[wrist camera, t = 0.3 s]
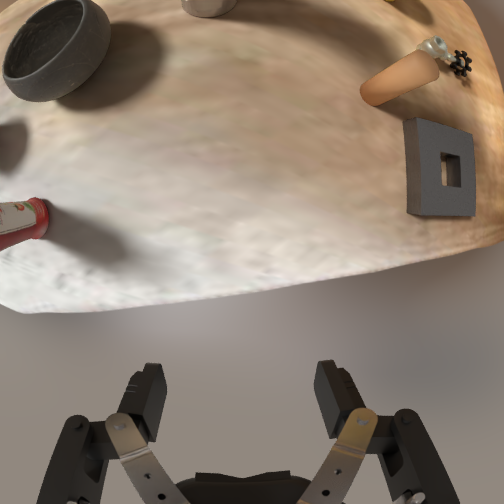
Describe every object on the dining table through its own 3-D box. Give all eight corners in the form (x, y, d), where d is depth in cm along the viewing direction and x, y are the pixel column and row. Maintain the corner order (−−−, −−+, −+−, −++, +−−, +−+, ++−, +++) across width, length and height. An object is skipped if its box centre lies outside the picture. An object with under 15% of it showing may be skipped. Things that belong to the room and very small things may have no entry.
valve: (417, 64, 35) (456, 80, 36) (437, 53, 29) (475, 73, 30) (410, 38, 34) (449, 55, 35) (428, 26, 27) (467, 47, 28)
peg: (358, 80, 35) (410, 45, 21) (380, 85, 36) (435, 55, 21) (361, 104, 36) (417, 74, 22) (383, 108, 37) (442, 84, 22)
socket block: (402, 121, 37) (416, 117, 33) (458, 136, 39) (472, 134, 35) (406, 212, 41) (420, 215, 37) (461, 213, 42) (475, 216, 38)
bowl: (38, 51, 27) (3, 28, 15) (120, 9, 28) (98, -29, 16) (37, 128, 31) (-10, 116, 19) (126, 84, 32) (94, 49, 20)
